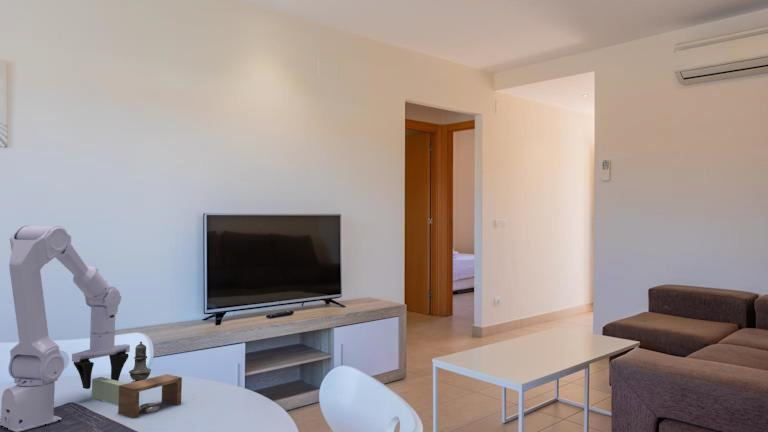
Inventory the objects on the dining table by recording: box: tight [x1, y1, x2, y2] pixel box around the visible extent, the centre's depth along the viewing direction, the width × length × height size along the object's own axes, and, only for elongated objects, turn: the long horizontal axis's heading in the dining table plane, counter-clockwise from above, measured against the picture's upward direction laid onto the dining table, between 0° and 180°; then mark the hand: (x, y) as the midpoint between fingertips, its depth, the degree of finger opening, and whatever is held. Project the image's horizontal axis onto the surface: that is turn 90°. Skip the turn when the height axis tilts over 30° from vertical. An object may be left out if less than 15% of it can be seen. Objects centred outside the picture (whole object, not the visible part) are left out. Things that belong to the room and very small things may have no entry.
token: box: [139, 402, 161, 415], centre depth 129 cm, size 4×4×2 cm
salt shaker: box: [128, 341, 152, 383], centre depth 153 cm, size 6×6×12 cm
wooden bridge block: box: [117, 373, 183, 419], centre depth 130 cm, size 13×6×7 cm, turn 149°
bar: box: [91, 376, 129, 406], centre depth 136 cm, size 2×16×5 cm, turn 59°
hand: (101, 384), depth 139 cm, fingers open, 7 cm apart
